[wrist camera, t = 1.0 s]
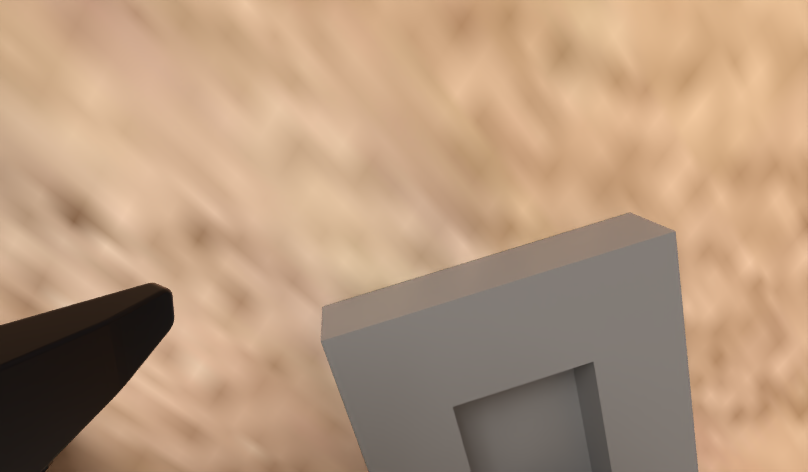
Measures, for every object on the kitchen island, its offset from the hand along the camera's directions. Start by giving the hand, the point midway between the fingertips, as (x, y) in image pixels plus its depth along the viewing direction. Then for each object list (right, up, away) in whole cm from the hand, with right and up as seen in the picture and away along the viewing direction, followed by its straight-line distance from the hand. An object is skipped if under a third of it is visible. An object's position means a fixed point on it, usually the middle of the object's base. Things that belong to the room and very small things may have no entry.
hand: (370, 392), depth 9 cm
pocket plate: (+6, -6, +15) cm, 17 cm away
